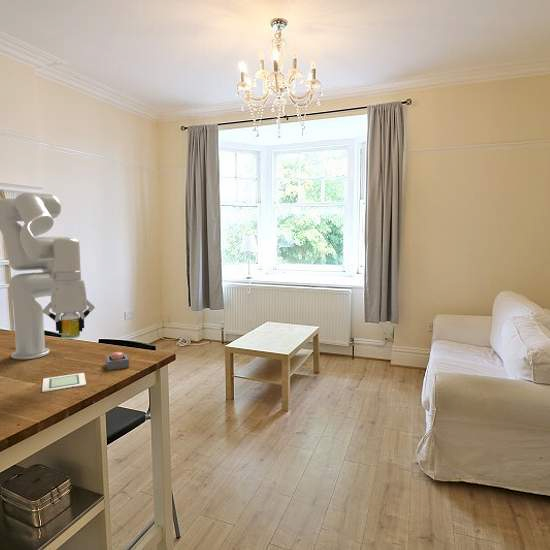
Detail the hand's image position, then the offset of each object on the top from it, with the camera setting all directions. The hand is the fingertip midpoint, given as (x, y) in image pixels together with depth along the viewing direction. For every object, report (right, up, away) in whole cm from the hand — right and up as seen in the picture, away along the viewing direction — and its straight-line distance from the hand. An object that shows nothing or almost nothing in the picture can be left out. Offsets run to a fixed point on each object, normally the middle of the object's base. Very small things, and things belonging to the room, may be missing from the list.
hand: (70, 331), depth 129 cm
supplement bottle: (0, -2, 0) cm, 2 cm away
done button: (+10, -12, +13) cm, 21 cm away
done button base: (+10, -14, +14) cm, 22 cm away
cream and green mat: (-1, -16, -2) cm, 16 cm away
